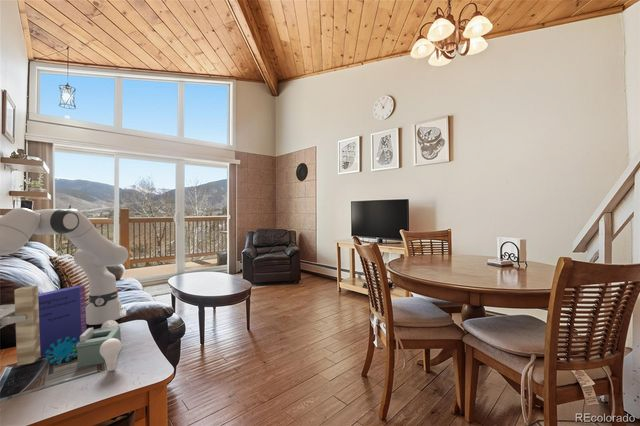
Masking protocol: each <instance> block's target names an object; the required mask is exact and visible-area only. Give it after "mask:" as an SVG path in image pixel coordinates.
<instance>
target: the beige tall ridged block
mask: <svg viewBox="0 0 640 426" xmlns="http://www.w3.org/2000/svg"><path fill="white" fill-rule="evenodd" d="M13 290H14V291H13V292H14V304H15V316H19V315H24V314H27V319H26V320H25V321H21V322H16V323H15V340H16V341H15V343H16V344H15V345H16V366H21V365H27V364H28V365H29V364H32V363H33V364H34V363H35V362H36V361H37V360H39V358H42V357H41V356H40V330H39V303H38V294H39V285H38V284H37V285H29V286H21V287H19V288H16V289H13Z"/></svg>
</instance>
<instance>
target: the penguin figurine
mask: <svg viewBox="0 0 640 426" xmlns="http://www.w3.org/2000/svg"><path fill="white" fill-rule="evenodd" d="M115 327H119V323H118V322H117V321H116V320H114V321H113V320H108V321H106V322H105V323H103V324H101V327H100V328H99V330H103V329H109V328H115Z"/></svg>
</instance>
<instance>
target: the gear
mask: <svg viewBox="0 0 640 426" xmlns="http://www.w3.org/2000/svg"><path fill="white" fill-rule="evenodd" d="M69 339H70V337H66V338H65V341H64V342H63V343H61V344H60V342H61V341H62V339H58V340H57V342H58V345H57V346H56V347H54V346H55V344H54V343H52V344H51V345H50V347H51V348H53V349H54V350H53V351H50V350H49V349H48V350H47V351H46V352H45V353H46V354H49V353H51V354H52V355H51V354H49V355H46V356H45V361H48V362H49V363H50V365H52V364H54V363H55V362H56V365H61V364H62V363H63V360H64V361H65V363H68V362H70V361H71V359H70V355H71V354H72V355H71V356H72V357H73V358H75V357H77V344H78V343H79V342H80V341H77V342H76V343H71V342H74V341H76V338H75V337H74V338H73V339H72V340H71V341H69V342H66V341H68V340H69ZM75 345H76V346H75ZM64 358H65V359H64Z"/></svg>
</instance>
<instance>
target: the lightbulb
mask: <svg viewBox="0 0 640 426" xmlns="http://www.w3.org/2000/svg"><path fill="white" fill-rule="evenodd" d="M121 349H122V341H121V342H120V341H119V340H118V339H115V338H111V339H108V340H106V341H105V342H104V343H103V344H102V345H101V347H100V354H101V356H102V357H103V358H104V359H105V365H106V370H107V371H108V372H113V371H114V370H115V369H116V368H117V362H118V356H119V354H120V352H121Z"/></svg>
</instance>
